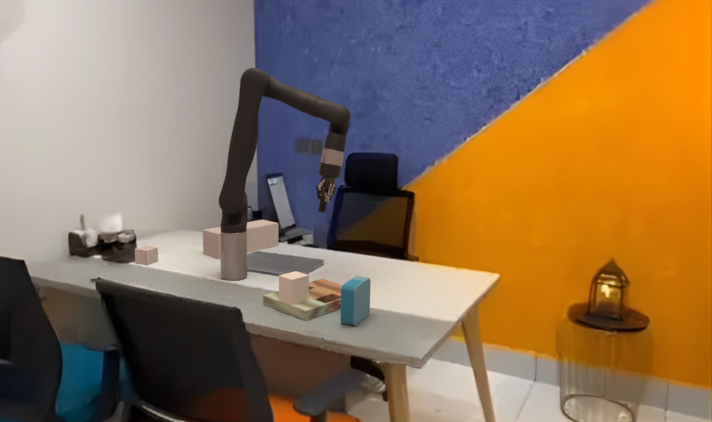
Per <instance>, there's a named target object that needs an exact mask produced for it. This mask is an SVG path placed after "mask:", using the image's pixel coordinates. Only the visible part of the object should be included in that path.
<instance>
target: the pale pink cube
mask: <svg viewBox="0 0 712 422" xmlns="http://www.w3.org/2000/svg"><path fill="white" fill-rule="evenodd" d="M134 262H135V264H136V265H143V266H150V265H153V264H156V263H158V262H159V250H158V246H152V245H151V246H150V245H144V246H140V247H137V248H135V249H134Z"/></svg>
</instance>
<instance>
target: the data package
mask: <svg viewBox="0 0 712 422" xmlns="http://www.w3.org/2000/svg"><path fill="white" fill-rule="evenodd" d="M371 282H372V281H371V278H370V277H367V276H365V277H364V276H359V275H355V276H354V277H353V278H351V279H350V280H347V281H346V282H345V283H343V284H341V285H342V288H341V309H340V323H341V324H344V325H349V326H355V327H356V326H357V325H359V323H361V322H362V321H363V320H365V318H366V317H368V316H369V314H370V309H371V307H370V306H371V285H372V284H371Z"/></svg>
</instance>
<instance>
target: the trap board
mask: <svg viewBox="0 0 712 422" xmlns="http://www.w3.org/2000/svg"><path fill="white" fill-rule="evenodd" d="M342 285H343V284H341V283H337V282H334V281H331V280H329V279H328V280H327V279H325V278H319V279H316V280H312V281H309V300H307V301H304V302H300V303H297V304H294V305H290V304H287V303H285V302H282V301H279V290H277V291H273V292H270V293H266V294H263V295H262V297H263V298H262V302H263V303H262V304H263V305H264V306H267V307H269V308H272V309H274V310H278V311H280V312H283V313H284V314H285V313H286V314H287V315H290V316H293V317H295V318H297V319H300V320H303V321H309V320H312V319H315V318H318V317H321V316H324V315H327V314H330V313H333V312H334V311H338V310H341V288H342Z"/></svg>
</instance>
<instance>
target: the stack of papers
mask: <svg viewBox="0 0 712 422" xmlns="http://www.w3.org/2000/svg"><path fill="white" fill-rule="evenodd" d="M277 247H279V223H278V222H275V221H270V220H266V219H257V220H253V221H247V254H248V253H253V252H258V251H262V250H266V249H267V250H268V249H271V248H277ZM202 252H203V253H202V254H203V255H204V256H207V257H211V258H214V259H217V260H221V226H217V227H212V228H206V229H202Z"/></svg>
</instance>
